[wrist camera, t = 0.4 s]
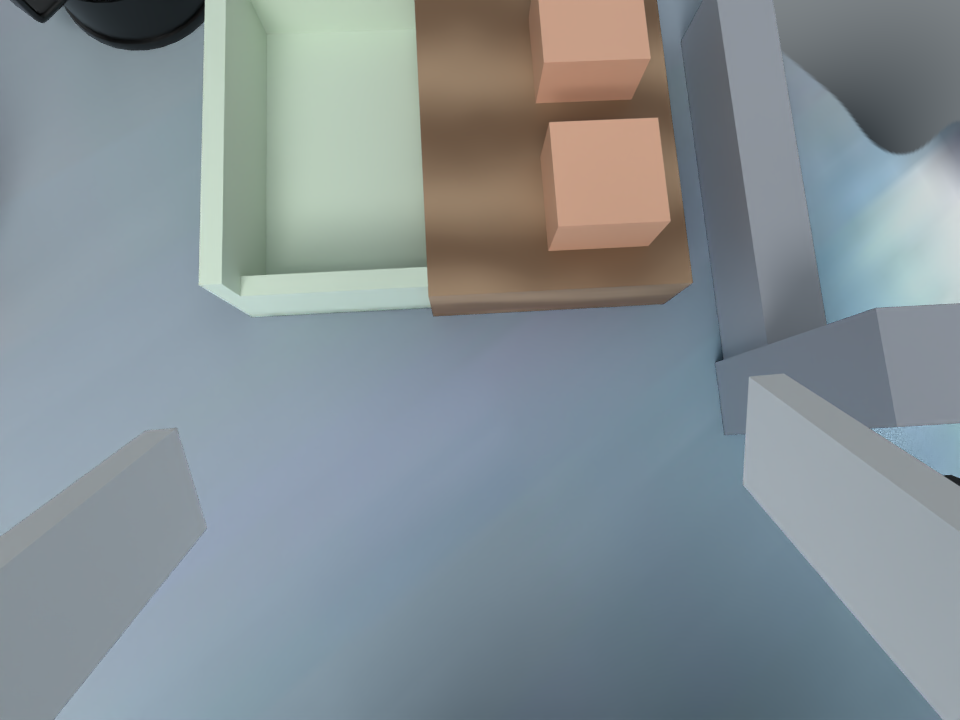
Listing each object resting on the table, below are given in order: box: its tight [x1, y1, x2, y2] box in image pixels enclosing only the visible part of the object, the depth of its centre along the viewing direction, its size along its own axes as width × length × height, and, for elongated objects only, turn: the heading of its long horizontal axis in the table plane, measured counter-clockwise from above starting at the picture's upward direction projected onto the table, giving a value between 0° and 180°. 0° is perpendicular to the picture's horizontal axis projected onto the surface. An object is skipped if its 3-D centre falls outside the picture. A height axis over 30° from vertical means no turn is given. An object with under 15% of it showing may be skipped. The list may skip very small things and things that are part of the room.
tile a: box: [540, 118, 671, 251], centre depth 26 cm, size 5×5×3 cm
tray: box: [199, 0, 431, 317], centre depth 28 cm, size 18×10×6 cm, turn 4°
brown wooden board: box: [414, 0, 693, 316], centre depth 30 cm, size 17×13×4 cm
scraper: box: [681, 0, 960, 435], centre depth 26 cm, size 24×4×12 cm, turn 4°
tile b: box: [529, 0, 651, 103], centre depth 27 cm, size 5×5×3 cm
